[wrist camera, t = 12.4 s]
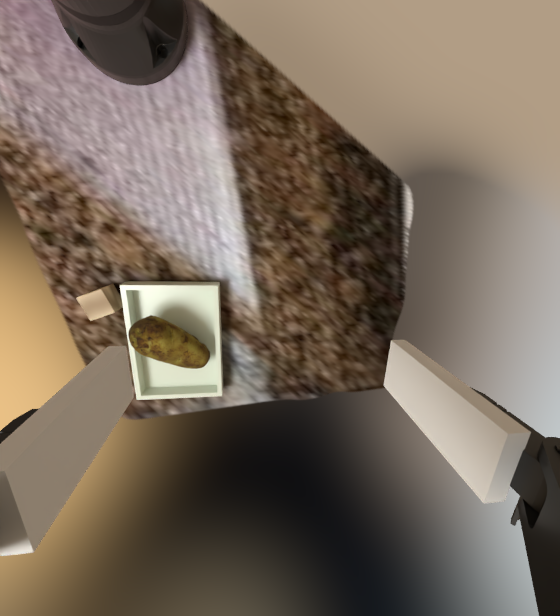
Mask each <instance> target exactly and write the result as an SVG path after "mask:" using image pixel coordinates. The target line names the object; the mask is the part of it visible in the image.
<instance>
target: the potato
mask: <svg viewBox="0 0 560 616" xmlns="http://www.w3.org/2000/svg"><path fill="white" fill-rule="evenodd" d="M128 336H129V340H130V343H131V346H132V347H133V348H134V349H135V350H136V351H137V352H138V353H139V354H141V355H143V356H146V357H150V358H152V359H155V360H157V361H161V362H164V363H169V364H172V365H175V366H179V367H183V368H190V369H198V368H202V367H204V366H205V365H206V364H207V363H208V361H209V359H210V351H209V350H208V348H207V346H206V345H205V344H203V343H201V342H199V341H198V339H197V338H196V337H195V336H193V335H191V334H189V333H188V332H186V331H185V330H183V329H182V328H180V327H178V326H176V325H174V324H172V323H170V322H168V321H166V320H164V319H162V318H159V317H156V316H152V315H150V316H148V317H146V318H142V319H140V320H138V321H137V322H135V323H134V324H133V325H132V326H131V328H130V329H129V333H128Z"/></svg>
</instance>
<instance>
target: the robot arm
mask: <svg viewBox="0 0 560 616" xmlns="http://www.w3.org/2000/svg"><path fill="white" fill-rule="evenodd" d="M51 1H52V3H53V5H54V8H55V10H56V12H57V15H58V17H59V19H60V21H61V23H62V25H63V27H64V29H65V31H66V32H67V34H68V36H69V37H70V39H71V40H72V41H73V43H74V44H75V45H76V47H77V48H78V49H79V50H80V51H81V52H82V54H83V55H84V56H85V57H86V58H87V59H88V60H89V61H90V62H91V63H92V64H93V65H94V66H95V67H96V68H98V69H99V70H100V71H101V72H103V73H104V74H106V75H107V76H109V77H111V78H113V79H115V80H117V81H120V82H123V83H126V84H131V85H147V84H152V83H155V82H157V81H159V80H161V79H163V78H165V77H166V76H167V75H168V74H170V73H171V72H172V71H173V69H174V68H175V67H176V66H177V64H178V63H179V61H180V59H181V57H182V55H183V52H184V49H185V45H186V40H187V32H188V22H187V13H186V7H185V3H184V0H51ZM384 387H385V388H386V389H387V390H388V391H389V392H390V393H391V395H392V396H393V397H394V398H395V399H396V401H397V402H398V403H399V404H400V405H401V407H402V408H403V409H404V410H405V411H406V412H407V414H408V415H409V416H410V417H411V418H412V419H413V421H414V422H415V423H416V424H417V425H418V427H419V428H420V429H421V430H422V431H423V432H424V434H425V435H426V436H427V437H428V438H429V440H430V441H431V442H432V443H433V444H434V445H435V447H436V448H437V449H438V450H439V451H440V452H441V454H442V455H443V456H444V457H445V458H446V460H447V461H448V462H449V463H450V464H451V465H452V467H453V468H454V469H455V470H456V471H457V472H458V474H459V475H460V476H461V477H462V478H463V480H465V482H466V483H467V484H468V485H469V487H470V488H471V489H472V490H473V491H474V492H475V494H476V495H477V496H478V497H479V498H480V499H481V501H482V502H483V503H491V502H501V501H505V499H506V497H507V494H508V491H509V489H510V486H511V487H512V488H513V489H514V490H515V491H516V492H517V493H518V494H519V495H520V498H519V500H518V503H517V505H516V508H515V510H514V513H513V516H512V518H511V524H513V525H516V522H517V520H519V519H520V521H521V526H522V531H523V536H524V541H525V546H526V551H527V556H528V561H529V566H530V571H531V576H532V581H533V587H534V592H535V597H536V602H537V607H538V612H539V616H560V438H556V437H547V438H545V437H544V436H542V435H541V434H539V433H538V432H536V431H535V430H534V429H533V428H531V427H530V426H528V425H527V424H525V423H524V422H523V421H521V420H520V419H519V418H517V417H516V416H514V415H513V414H511V413H510V412H507V410H506V409H505V408H503V407H502V406H500V405H497V403H496V402H495V401H493V400H492V399H490V398H489V397H488V396H486V395H485V394H483V393H481V392H479V391H477V390H475V389H473V388H471V387H468V386H467V385H466V384H465V383H463V382H462V381H460V380H459V379H458V378H456V377H455V376H454V375H452V374H451V373H449V372H448V371H447V370H445V369H444V368H443V367H441V366H440V365H439V364H437V363H436V362H435V361H433V360H432V359H430V358H429V357H427V356H426V355H425V354H424V353H422V352H421V351H419V350H418V349H417V348H415V347H414V346H412V345H411V344H410V343H409V342H407V341H406V340H391V345H390V351H389V357H388V363H387V369H386V375H385V380H384ZM133 397H134V395H133V388H132V382H131V375H130V369H129V362H128V356H127V349H126V346H108V347H107V348H106V349H105V350H104V351H103V352H102V353H101V354H99V355H98V356H97V357H96V358H95V359H94V360H93V361H92V362H91V363H89V364H88V365H87V366H86V367H85V368H84V369H83V370H82V371H81V372H79V373H78V374H77V375H76V376H75V377H74V378H73V379H72V380H71V381H69V382H68V383H67V384H66V385H65V386H64V387H63V388H62V389H61V390H59V391H58V392H57V393H56V394H55V395H54V396H53V397H52V398H51V399H50V400H48V401H47V402H46V403H45V404H44V405H43V406H42V407H41V408H39V409H32V410H30V411H28V412H26V413H25V414H23V415H21V416H19V417H18V418H16V419H14V420H13V421H12V422H10V423H9V424H8V425H7V426H6V427H4V428H3V429H2V430H1V431H0V555H1V556H5V555H15V554H24V553H33V552H34V551H35V550H36V548H37V547H38V545H39V543H40V542H41V540H42V539H43V537H44V536H45V534H46V533H47V531H48V529H49V528H50V526H51V525H52V523H53V522H54V520H55V518H56V517H57V515H58V514H59V512H60V511H61V509H62V508H63V506H64V505H65V503H66V501H67V500H68V498H69V496H70V495H71V494H72V492H73V491H74V489H75V487H76V486H77V484H78V483H79V481H80V480H81V478H82V477H83V475H84V473H85V472H86V470H87V469H88V467H89V466H90V464H91V463H92V461H93V459H94V458H95V456H96V455H97V453H98V452H99V450H100V448H101V447H102V445H103V444H104V442H105V441H106V439H107V438H108V436H109V434H110V433H111V431H112V429H113V428H114V427H115V425H116V424H117V422H118V421H119V418H120V417H121V416H122V414H123V413H124V411H125V410H126V408H127V407H128V405H129V403H130V402H131V400H132V399H133Z"/></svg>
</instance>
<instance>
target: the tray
mask: <svg viewBox="0 0 560 616" xmlns="http://www.w3.org/2000/svg"><path fill="white" fill-rule="evenodd" d="M120 291H121V298H122V304H123V311H124V318H125V324H126V331H127V338H128V344H129V351H130V358H131V365H132V371H133V378H134V385H135V391H136V398H137V400H147V399H168V398H190V397H211V396H222V393H223V362H222V334H221V306H220V282H176V281H127V282H125V283H123V284H121V285H120ZM150 315H152V316H156V317H159V318H162V319H164V320H166V321H168V322H170V323H172V324H174V325H176V326H178V327H180V328H182V329H183V330H185V331H186V332H188V333H189V334H191V335H193V336H195V337H196V338H197V339H198V341H199V342H201V343H203V344H205V345H206V346H207V348H208V350H209V351H210V359H209V361H208V363H207V364H206V365H205V366H204V367H202V368H198V369H190V368H183V367H179V366H175V365H172V364H169V363H164V362H161V361H157V360H155V359H152V358H150V357H146V356H143V355H141V354H139V353H138V352H137V351H136V350H135V349H134V348H133V347H132V346H131V343H130V340H129V336H128V333H129V329H130V328H131V326H132V325H133V324H134V323H135V322H137V321H138V320H140V319H142V318H146V317H148V316H150Z"/></svg>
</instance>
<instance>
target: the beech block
mask: <svg viewBox="0 0 560 616" xmlns="http://www.w3.org/2000/svg"><path fill="white" fill-rule="evenodd" d="M77 300H78V302H79V303H80V305H81V307H82V308H83V310H84V311H85V313H86V315H87V316H88V318H89V319H90V321H92V320H95V319H98V318H100V317H103V316H106V315H109V314H112V313H114V312H116V311H118V310H119V309H120V308H122V307H123V304H122V298H121V297H120V295H119V293H118V291H117V289H116V288H115V286H114V284H111V285H108V286H105V287H102V288H99V289H97V290H94V291H91V292H88V293H86V294H84V295H82V296H79V297H77Z"/></svg>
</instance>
